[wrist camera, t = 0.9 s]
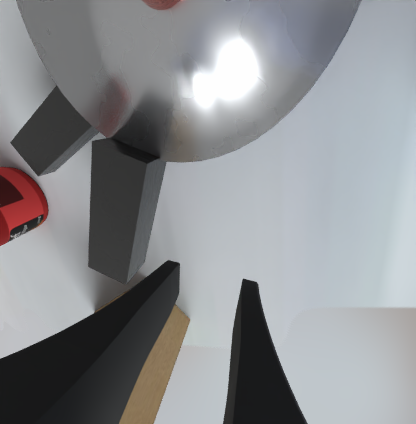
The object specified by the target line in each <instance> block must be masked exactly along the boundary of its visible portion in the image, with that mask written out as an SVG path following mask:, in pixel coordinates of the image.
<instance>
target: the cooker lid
mask: <svg viewBox="0 0 416 424" xmlns="http://www.w3.org/2000/svg"><path fill="white" fill-rule="evenodd" d="M16 1H17V4H18V8H19V10H20V13H21V15H22V18H23V21H24V23H25V26H26V28H27V31H28V33H29V36H30V38H31V40H32V42H33V44H34V46H35V48H36V50H37V52H38V54H39V57H40V58H41V60H42V62H43V63H44V65H45V67H46V69H47V70H48V72H49V74H50V76H51V77H52V79H53V80H54V82H55V83H56V85H57V86H58V87H59V89H60V90H61V92H62V93H63V95H64V96H65V97H66V98H67V100H68V101H69V102H70V103H71V104H72V106H73V107H74V108H75V109H76V110H77V111H78V112H79V113H80V114H81V115H82V116H83V117H84V118H85V119H86V120H87V121H88V122H89V123H90V124H91V125H92V126H93V127H94V128H95V129H97V130H98V131H99V132H100V133H102V134H103V135H104V136H106V137H107V138H106V139H101V140H96V141H92V165H91V197H90V229H89V261H88V267H90V268H92V269H94V270H96V271H98V272H100V273H102V274H105V275H107V276H109V277H111V278H113V279H115V280H117V281H120V282H122V283H124V284H127V283H128V282H129V281H130V279H131V278H132V277H133V276H134V274H135V273H136V272H137V271H138V270H139V268H140V267H141V266H142V265H143V263H144V261H145V257H146V252H147V248H148V243H149V239H150V234H151V230H152V225H153V221H154V216H155V211H156V207H157V202H158V198H159V193H160V189H161V184H162V180H163V175H164V171H165V166H166V162H167V161H168V162H193V161H202V160H207V159H211V158H215V157H219V156H222V155H224V154H227V153H230V152H232V151H235V150H237V149H239V148H241V147H243V146H245V145H247V144H248V143H250V142H252V141H254V140H256V139H257V138H258V137H260V136H261V135H263V134H264V133H265V132H267V131H268V130H270V129H271V128H272V127H274V126H275V125H276V124H277V123H278V122H279V121H280V120H282V119H283V118H284V117H285V116H286V115H287V114H288V113H289V112H290V111H291V110H293V108H294V107H295V106H296V105H297V104H298V103H299V102H300V101H301V99H302V98H303V97H304V96H305V95H306V94H307V93H308V91H309V90H310V89H311V88H312V87H313V85H314V84H315V82H316V81H317V80H318V78H319V77H320V75H321V74H322V73H323V71H324V70H325V68H326V67H327V66H328V64H329V63H330V61H331V59H332V58H333V56H334V54H335V52H336V51H337V49H338V47H339V45H340V44H341V42H342V40H343V38H344V37H345V35H346V33H347V31H348V29H349V27H350V25H351V23H352V21H353V18H354V16H355V14H356V12H357V9H358V7H359V5H360V3H361V1H362V0H16Z"/></svg>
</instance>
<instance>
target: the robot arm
mask: <svg viewBox="0 0 416 424" xmlns="http://www.w3.org/2000/svg"><path fill="white" fill-rule="evenodd" d="M179 276H180V263H177V262H173V261H169V260H168V261H166V262H165V263H164V264H162V265H161V266H160V267H159V268H157V269H156V270H155V271H154V272H153V273H151V274H150V275H149V276H147V277H146V278H145V279H144V280H142V281H141V282H140V283H138V284H137V285H136V286H134V287H133V288H132V289H130V290H129V291H127V292H126V293H124V294H123V295H122V296H120V297H119V298H117V299H116V300H114V301H113V302H111V303H110V304H108V305H107V306H105V307H103V308H102V309H100V310H99V311H97V312H95V313H94V314H92V315H90V316H88V317H87V318H85V319H83V320H81V321H79V322H78V323H76V324H74V325H72V326H70V327H68V328H66V329H65V330H63V331H61V332H59V333H57V334H55V335H53V336H51V337H48V338H46V339H44V340H42V341H40V342H38V343H36V344H33V345H31V346H29V347H27V348H25V349H23V350H20V351H18V352H16V353H13V354H11V355H9V356H6V357H4V358H1V359H0V424H119V422H120V420H121V417H122V415H123V413H124V410H125V408H126V405H127V403H128V400H129V398H130V396H131V393H132V391H133V389H134V386H135V384H136V382H137V379H138V377H139V375H140V372H141V370H142V368H143V366H144V364H145V362H146V360H147V358H148V356H149V354H150V352H151V350H152V348H153V346H154V345H155V343H156V341H157V339H158V337H159V335H160V333H161V331H162V330H163V328H164V326H165V324H166V322H167V320H168V318H169V316H170V314H171V312H172V310H173V307H174V305H175V302H176V300H177V297H178V295H179ZM223 424H307V422H306V420H305V418H304V416H303V414H302V412H301V410H300V408H299V406H298V403H297V401H296V399H295V396H294V394H293V392H292V390H291V388H290V385H289V383H288V380H287V378H286V376H285V373H284V371H283V369H282V366H281V363H280V361H279V358H278V356H277V353H276V350H275V347H274V344H273V342H272V339H271V336H270V333H269V329H268V326H267V323H266V319H265V316H264V312H263V308H262V304H261V299H260V294H259V287H258V284H257V282H254V281H250V280H246V279H243V281H242V286H241V290H240V295H239V300H238V305H237V309H236V315H235V321H234V327H233V335H232V347H231V359H230V372H229V384H228V394H227V402H226V408H225V415H224V421H223Z"/></svg>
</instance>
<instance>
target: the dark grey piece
mask: <svg viewBox="0 0 416 424" xmlns="http://www.w3.org/2000/svg"><path fill="white" fill-rule="evenodd" d="M98 132H99V131H98V130H97V129H95V128H94V127H93V126H92V125H91V124H90V123H89V122H88V121H87V120H86V119H85V118H84V117H83V116H82V115H81V114H80V113H79V112H78V111H77V110H76V109H75V108H74V107H73V106H72V104H71V103H70V102H69V101H68V100H67V98H66V97H65V96H64V95H63V93H62V92H61V90H60V89H59V87H58V86H56V87H55V88H54V90H53V91H52V92H51V93H50V94H49V96H48V97H47V98H46V99H45V101H44V102H43V103H42V104H41V105H40V107H39V108H38V109H37V110H36V112H35V113H34V114H33V115H32V117H31V118H30V119H29V120H28V121H27V123H26V124H25V125H24V126H23V128H22V129H21V130H20V131H19V133H18V134H17V135H16V136H15V137H14V139H13V140H12V141H11V142H10V143H11V144H12V145H13V147H14V148H15V149H16V150H17V151H18V153H19V154H20V155H21V156H22V157H23V159H24V160H25V161H26V162H27V163H28V165H29V166H30V167H31V168H32V170H33V171H34V172H35V173H36V174H37V176H41V175H45V174H48V173H51V172H55V171H56V170H57V169H58V168H59V167H60V166H61V165H63V164H64V163H65V162H66V161H67V160H68V159H69V158H70V157H72V156H73V155H74V154H75V153H76V152H77V151H78V150H79V149H80V148H82V147H83V146H84V145H85V144H86V143H87V142H88V141H89V140H91V139H92V138H93V137H94V136H95V135H96V134H97V133H98Z"/></svg>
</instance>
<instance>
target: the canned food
mask: <svg viewBox="0 0 416 424" xmlns="http://www.w3.org/2000/svg"><path fill="white" fill-rule="evenodd" d="M47 215H48V205H47V201H46V198H45V196H44V194H43V192H42V190H41V189H40V187H39V186H38V185H37V183H36V182H35V181H34V180H33V179H32V178H31V177H29V176H28V175H27V174H26V173H24V172H22V171H21V170H18V169H16V168H11V167H0V246H1V245H3V244H5V243H7V242H9V241H11V240H13V239H15V238H17V237H19V236H21V235H23V234H25V233H26V232H28V231H30V230H32V229H34V228H36V227H38V226H39V225H41V224H42V223H43V222H44V221H45V219H46V218H47Z"/></svg>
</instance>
